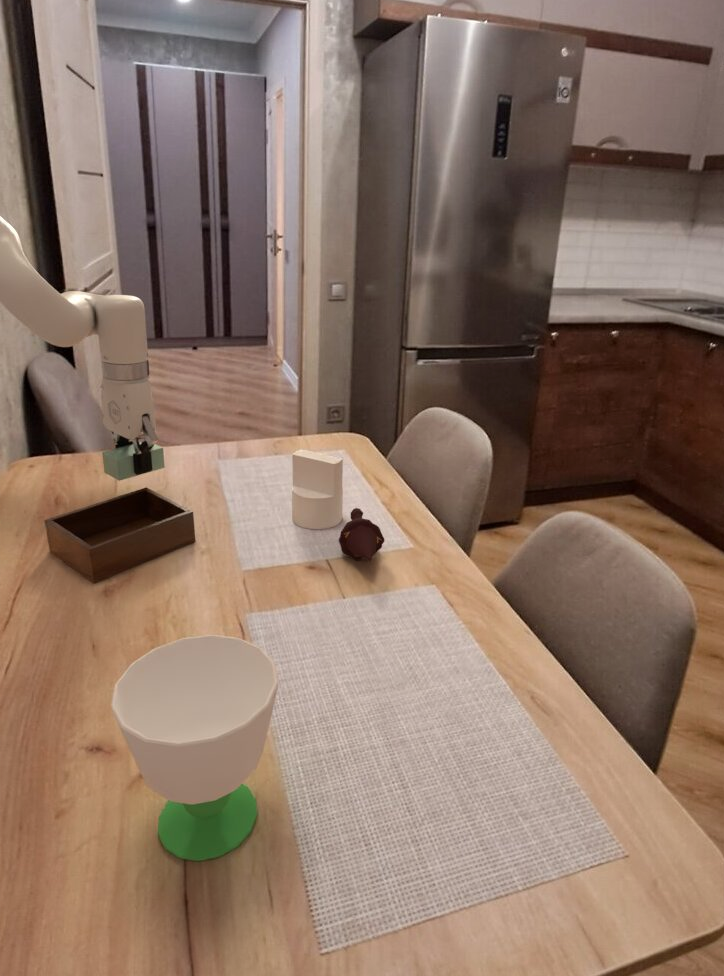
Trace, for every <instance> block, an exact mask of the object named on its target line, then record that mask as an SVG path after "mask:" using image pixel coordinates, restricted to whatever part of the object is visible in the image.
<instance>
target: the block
mask: <svg viewBox="0 0 724 976" xmlns="http://www.w3.org/2000/svg"><path fill="white" fill-rule="evenodd" d="M142 442H143V441H139V444H141V443H142ZM152 448H153V450H152V451H151V457H152V471H150V472H146V473H143V474H139V475H137V474H135V471H134V460H133V453H135V449H134V445H133V444H132V445H128V446H124V447H120V448H116V449H115V448H112V449H109V450H105V451H102V452H101V454H102V463H103V472H104V474H106V475H108V476H110V477H112V478H114V479H115V480H116V481H124V480H128V479H130V478H135V477H137V476H141V475H144V474H147V473H151V472H154V471H158V470H162V469H164V468H166V467H165V455H164V453H165V452H164V447H162V446H160V445H159V444H157V443H155V444H154V446H153V447H152Z"/></svg>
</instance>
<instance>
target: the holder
mask: <svg viewBox="0 0 724 976" xmlns="http://www.w3.org/2000/svg"><path fill="white" fill-rule="evenodd" d="M194 517H195V516H194V511H193V510H191V509H189V508H187V507H185V506H184V505H182V504H179V503H177V502H176V501H175V500H172V499H170V498H168V497H166V496H164V495H162V494H160V493H158V492H156V491H154V490H152V489H150V488H148V487H146V486H145V487H143V488H140V489H137V490H134V491H130V492H128V493H124V494H122V495H118V496H115V497H112V498H109V499H106V500H103V501H99V502H96V503H94V504H90V505H87V506H84V507H81V508H77V509H75V510H71V511H68V512H66V513H62V514H59V515H56V516H53V517H50V518H47V519H44V526H45V532H46V537H47V542H48V549H49V552H50V553H51V554H52V555H54V556H55V557H57V558H58V559H60V560H61V561H62V562H64V563H65V564H66V565H67V566H70V567H71V568H72V569H74V570H75V571H76V572H78V573H79V574H80V575H82V576H83V577H85V578H86V579H87V580H89V581H90V582H92V583H93V584H96V583H98V582H101V581H103V580H105V579H108V578H110V577H113V576H115V575H118V574H120V573H123V572H124V571H125V572H126V571H128V570H130V569H132V568H135V567H137V566H140V565H142V564H144V563H147V562H150V561H151V560H154V559H157V558H159V557H162V556H164V555H166V554H168V553H171V552H173V551H176V550H179V549H181V548H183V547H186V546H188V545H191V544H193V543H195V542H196V530H195V518H194Z"/></svg>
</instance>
